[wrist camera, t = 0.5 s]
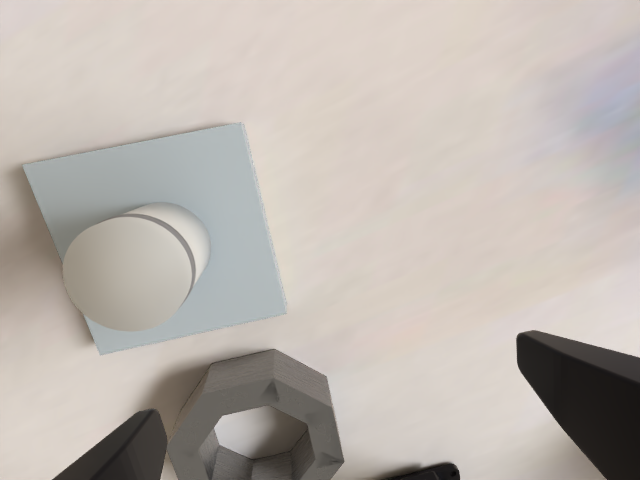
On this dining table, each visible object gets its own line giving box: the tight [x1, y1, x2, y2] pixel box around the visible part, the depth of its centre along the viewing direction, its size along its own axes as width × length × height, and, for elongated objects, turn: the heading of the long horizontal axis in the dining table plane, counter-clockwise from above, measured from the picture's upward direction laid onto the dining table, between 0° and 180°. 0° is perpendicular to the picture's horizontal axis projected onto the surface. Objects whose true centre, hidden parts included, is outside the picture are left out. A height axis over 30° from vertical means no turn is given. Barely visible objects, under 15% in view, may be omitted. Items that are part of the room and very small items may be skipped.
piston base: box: [22, 122, 287, 355], centre depth 17 cm, size 11×11×6 cm
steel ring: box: [167, 349, 344, 480], centre depth 23 cm, size 10×10×3 cm
